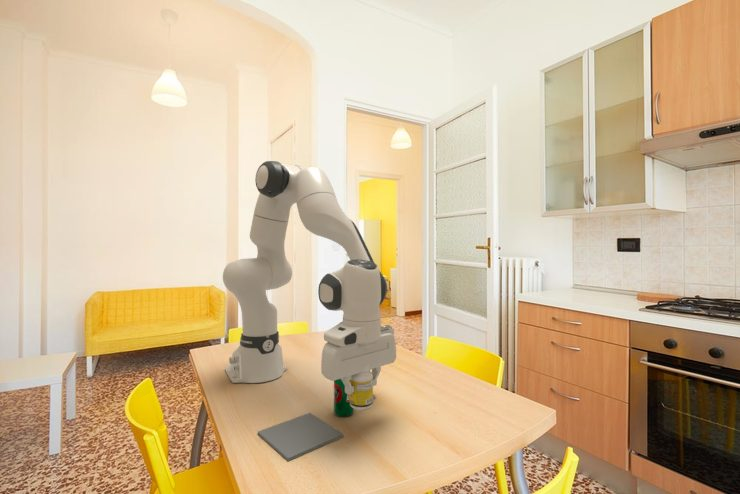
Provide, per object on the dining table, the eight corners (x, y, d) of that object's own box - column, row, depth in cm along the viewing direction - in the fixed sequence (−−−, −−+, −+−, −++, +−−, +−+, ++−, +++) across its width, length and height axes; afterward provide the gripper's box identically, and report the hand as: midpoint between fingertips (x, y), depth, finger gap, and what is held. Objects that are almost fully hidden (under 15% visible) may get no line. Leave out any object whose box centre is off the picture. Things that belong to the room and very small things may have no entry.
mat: (257, 434, 83) (257, 431, 83) (310, 415, 92) (310, 412, 92) (288, 461, 73) (288, 458, 73) (343, 436, 82) (343, 433, 82)
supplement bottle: (349, 400, 87) (349, 359, 87) (371, 399, 88) (372, 359, 87) (349, 410, 82) (350, 367, 82) (373, 410, 82) (374, 367, 82)
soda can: (351, 418, 90) (350, 370, 90) (331, 416, 91) (331, 369, 91) (355, 409, 95) (355, 363, 95) (337, 408, 96) (337, 362, 96)
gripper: (384, 321, 94) (384, 374, 94) (317, 334, 80) (317, 396, 80) (402, 325, 89) (401, 382, 89) (334, 340, 75) (333, 406, 76)
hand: (361, 389), depth 85 cm, fingers closed on supplement bottle, 5 cm apart
